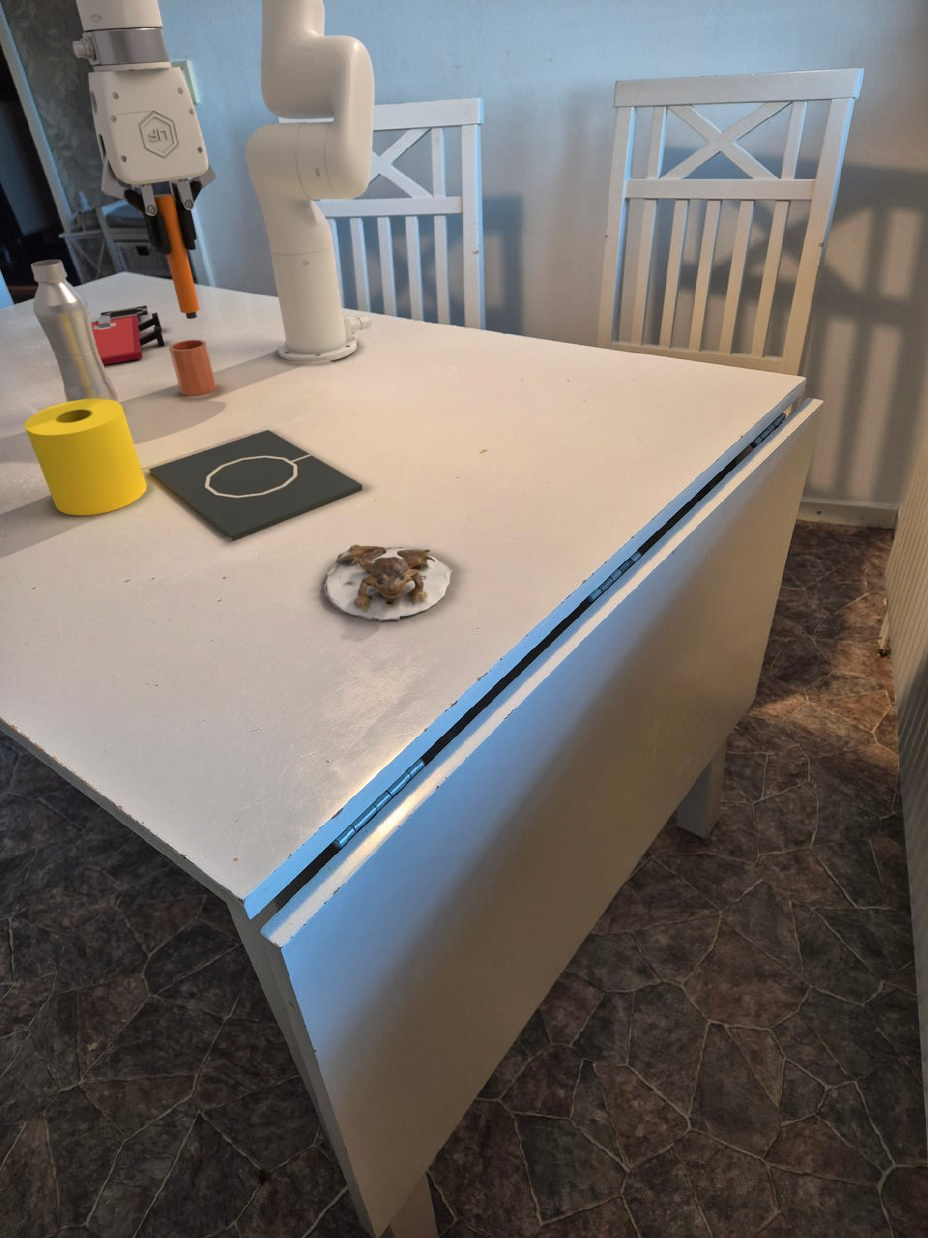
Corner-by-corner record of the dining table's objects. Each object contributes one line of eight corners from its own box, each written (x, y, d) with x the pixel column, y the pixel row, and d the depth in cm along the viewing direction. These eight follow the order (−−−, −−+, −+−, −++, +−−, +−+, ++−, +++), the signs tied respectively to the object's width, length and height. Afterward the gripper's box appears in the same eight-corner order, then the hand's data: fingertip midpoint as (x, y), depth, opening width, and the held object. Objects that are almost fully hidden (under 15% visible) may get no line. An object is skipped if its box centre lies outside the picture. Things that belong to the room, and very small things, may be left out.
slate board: (268, 433, 105) (267, 428, 104) (362, 489, 91) (362, 483, 90) (150, 473, 97) (148, 468, 97) (232, 540, 83) (231, 535, 82)
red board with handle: (158, 308, 156) (76, 321, 153) (153, 293, 154) (71, 306, 151) (166, 356, 133) (70, 373, 130) (161, 339, 131) (64, 356, 128)
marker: (196, 313, 97) (168, 193, 90) (204, 317, 96) (176, 194, 88) (179, 317, 96) (149, 195, 89) (186, 321, 95) (156, 197, 87)
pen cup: (208, 384, 121) (196, 337, 117) (223, 392, 118) (211, 344, 114) (176, 393, 119) (163, 345, 115) (190, 402, 115) (178, 353, 111)
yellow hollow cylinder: (156, 497, 92) (132, 418, 86) (64, 524, 88) (32, 443, 82) (134, 467, 99) (111, 391, 93) (48, 490, 95) (18, 413, 89)
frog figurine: (466, 609, 71) (464, 572, 69) (329, 632, 69) (322, 595, 67) (441, 544, 80) (439, 510, 78) (320, 563, 78) (314, 528, 76)
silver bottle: (106, 424, 110) (55, 269, 98) (62, 423, 112) (6, 269, 100) (131, 406, 115) (85, 256, 103) (89, 405, 117) (38, 257, 105)
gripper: (58, 55, 75) (117, 268, 85) (219, 47, 83) (255, 243, 93) (36, 58, 80) (94, 258, 90) (190, 49, 87) (227, 235, 98)
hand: (175, 249), depth 92 cm, fingers closed on marker, 2 cm apart
